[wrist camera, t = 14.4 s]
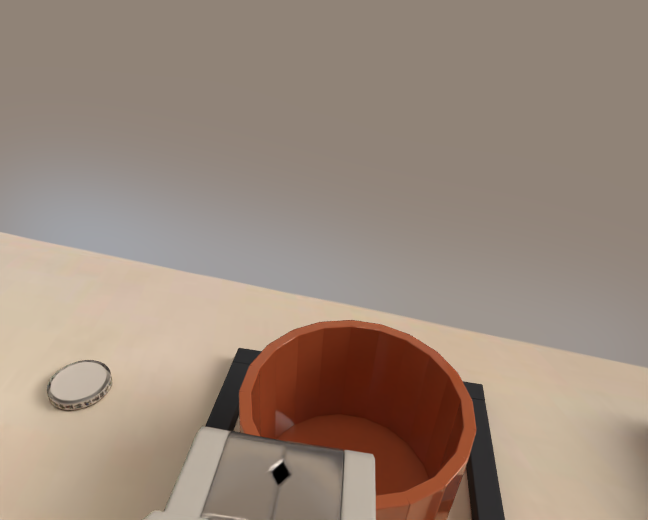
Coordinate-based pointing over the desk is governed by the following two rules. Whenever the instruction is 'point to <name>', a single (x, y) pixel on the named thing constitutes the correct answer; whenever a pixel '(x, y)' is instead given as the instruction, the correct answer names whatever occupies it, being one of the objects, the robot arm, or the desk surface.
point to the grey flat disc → (79, 384)
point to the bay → (479, 464)
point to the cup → (368, 409)
